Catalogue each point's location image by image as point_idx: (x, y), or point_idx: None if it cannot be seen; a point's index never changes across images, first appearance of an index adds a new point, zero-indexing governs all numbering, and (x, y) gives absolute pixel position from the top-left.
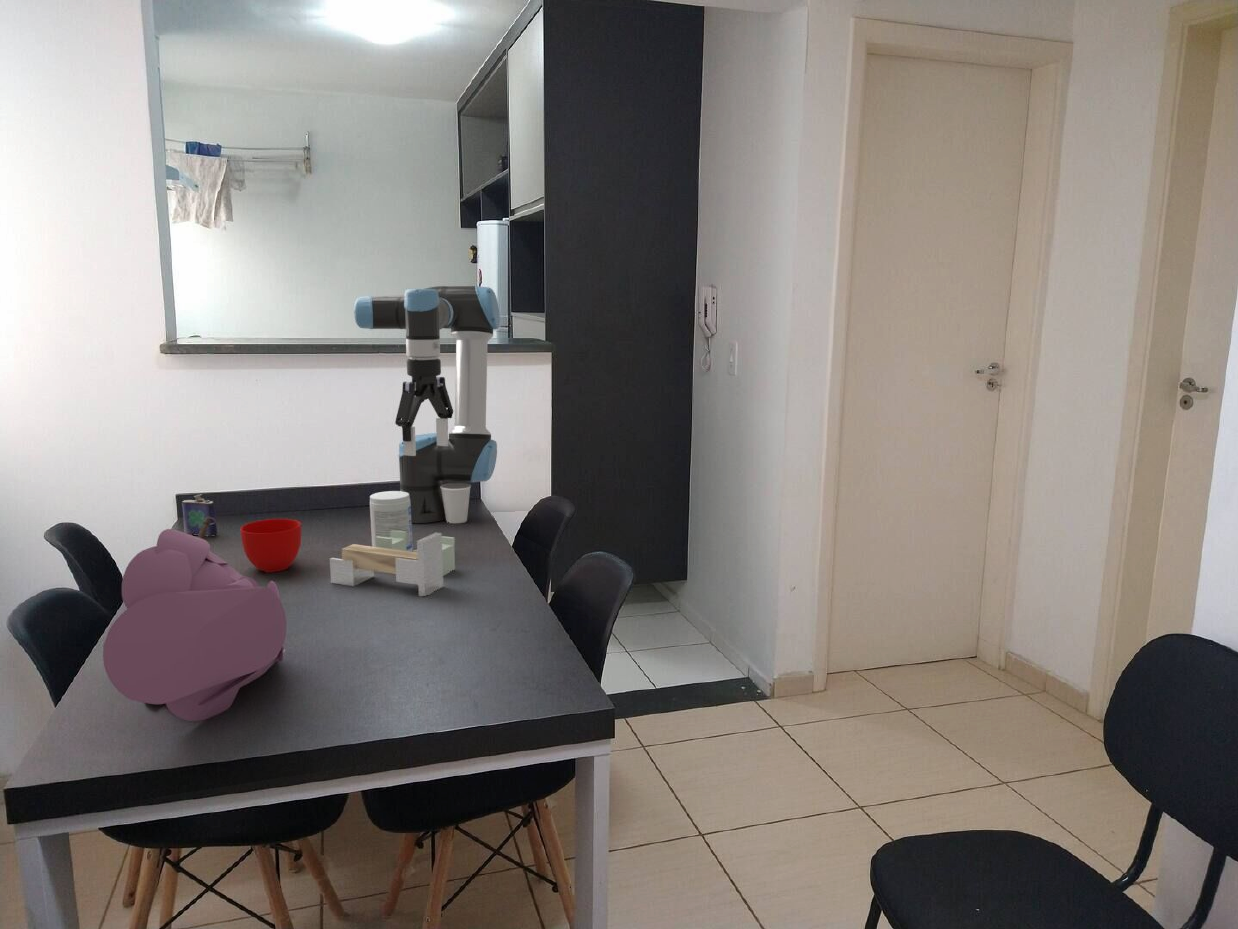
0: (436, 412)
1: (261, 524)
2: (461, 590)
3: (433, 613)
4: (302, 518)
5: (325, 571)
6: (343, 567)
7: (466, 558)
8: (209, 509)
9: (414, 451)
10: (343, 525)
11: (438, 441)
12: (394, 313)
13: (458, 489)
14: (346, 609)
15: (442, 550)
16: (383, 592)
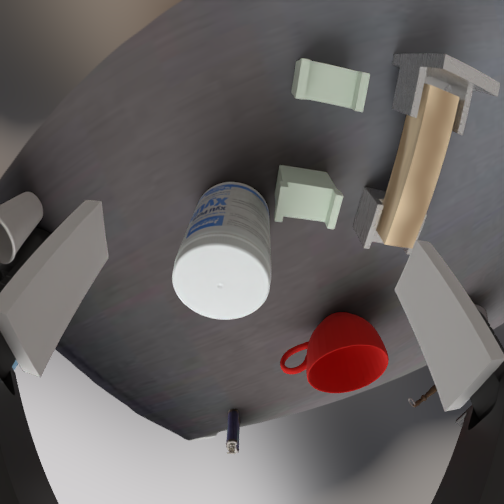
0: (23, 412)
1: (320, 385)
2: (402, 21)
3: (488, 50)
4: (135, 377)
5: (346, 265)
6: None
7: (218, 68)
8: (236, 436)
9: (435, 254)
10: (132, 336)
11: (98, 261)
12: None
13: (4, 223)
14: (486, 167)
15: (352, 70)
16: None
